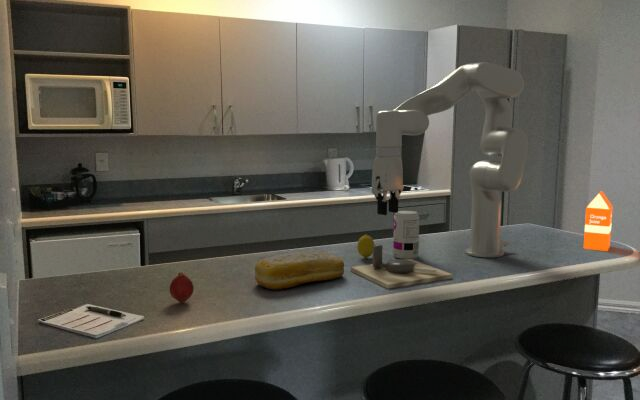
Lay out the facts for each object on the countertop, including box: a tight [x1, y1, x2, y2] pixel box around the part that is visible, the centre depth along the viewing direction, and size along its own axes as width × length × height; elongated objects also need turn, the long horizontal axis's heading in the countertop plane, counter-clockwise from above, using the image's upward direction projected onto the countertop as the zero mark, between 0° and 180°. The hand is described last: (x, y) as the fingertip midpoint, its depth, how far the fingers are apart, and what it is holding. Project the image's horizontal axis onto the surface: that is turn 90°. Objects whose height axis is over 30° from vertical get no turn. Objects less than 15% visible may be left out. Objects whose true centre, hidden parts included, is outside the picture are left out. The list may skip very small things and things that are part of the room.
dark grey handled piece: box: [372, 244, 438, 273], centre depth 162 cm, size 19×8×6 cm, turn 67°
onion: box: [169, 271, 195, 304], centre depth 138 cm, size 6×6×8 cm
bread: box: [254, 250, 345, 290], centre depth 157 cm, size 13×26×8 cm, turn 126°
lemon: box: [356, 234, 375, 259], centre depth 182 cm, size 6×6×8 cm
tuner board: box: [350, 259, 453, 290], centre depth 163 cm, size 22×20×1 cm
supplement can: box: [392, 210, 420, 260], centre depth 184 cm, size 8×8×15 cm
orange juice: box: [583, 190, 614, 252], centre depth 196 cm, size 8×9×20 cm
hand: (387, 212), depth 167 cm, fingers open, 4 cm apart
